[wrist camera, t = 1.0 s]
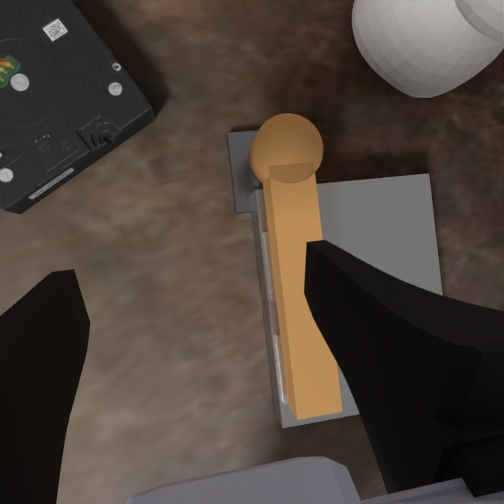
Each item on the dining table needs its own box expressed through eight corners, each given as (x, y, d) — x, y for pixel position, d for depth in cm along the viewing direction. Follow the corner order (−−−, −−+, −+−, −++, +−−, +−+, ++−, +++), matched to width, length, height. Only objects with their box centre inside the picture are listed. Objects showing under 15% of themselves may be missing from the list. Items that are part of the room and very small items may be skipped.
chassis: (430, 383, 27) (457, 398, 24) (274, 411, 25) (284, 430, 23) (407, 180, 27) (432, 172, 24) (249, 196, 25) (256, 188, 23)
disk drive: (160, 120, 25) (4, -80, 24) (156, 104, 23) (-20, -123, 21) (24, 218, 24) (-149, 14, 23) (2, 214, 21) (-196, -19, 20)
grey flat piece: (310, 205, 26) (326, 198, 23) (235, 213, 25) (241, 207, 22) (302, 130, 26) (316, 112, 23) (226, 135, 25) (231, 118, 22)
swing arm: (339, 395, 22) (353, 409, 20) (278, 406, 22) (286, 421, 20) (308, 123, 22) (319, 111, 20) (245, 128, 22) (250, 115, 20)
